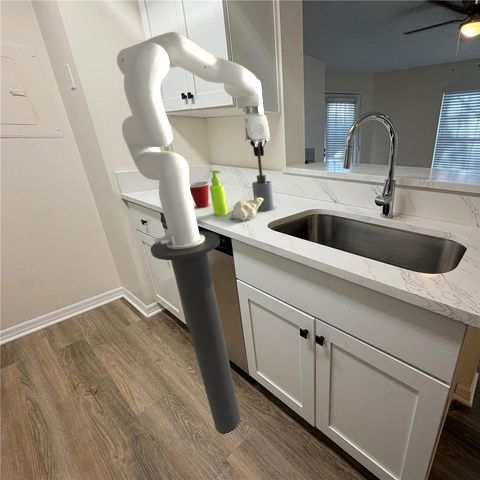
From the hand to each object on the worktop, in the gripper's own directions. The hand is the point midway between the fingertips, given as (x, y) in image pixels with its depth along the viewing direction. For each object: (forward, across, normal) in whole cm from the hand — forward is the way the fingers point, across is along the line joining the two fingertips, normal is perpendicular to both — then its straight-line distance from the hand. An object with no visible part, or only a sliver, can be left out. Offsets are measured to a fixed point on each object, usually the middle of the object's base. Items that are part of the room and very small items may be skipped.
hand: (259, 155), depth 120 cm
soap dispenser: (+25, -19, +7) cm, 33 cm away
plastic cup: (+25, -20, +28) cm, 43 cm away
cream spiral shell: (+25, -13, -7) cm, 30 cm away
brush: (+14, 0, 0) cm, 14 cm away
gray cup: (+25, 0, 0) cm, 25 cm away
